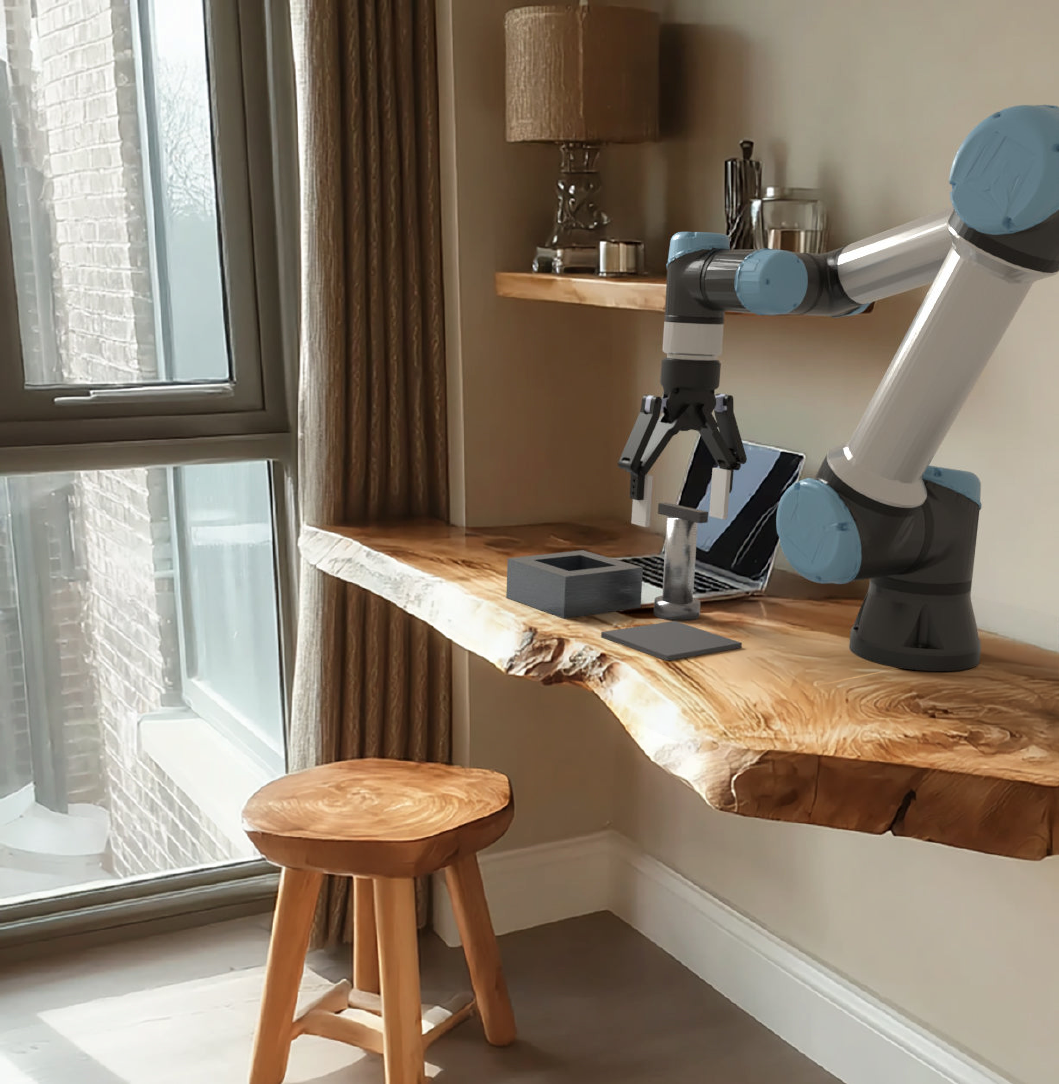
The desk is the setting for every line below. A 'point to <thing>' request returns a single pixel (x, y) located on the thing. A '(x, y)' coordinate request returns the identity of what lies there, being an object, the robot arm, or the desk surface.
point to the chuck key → (679, 563)
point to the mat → (671, 640)
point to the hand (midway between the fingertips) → (680, 521)
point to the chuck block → (574, 583)
